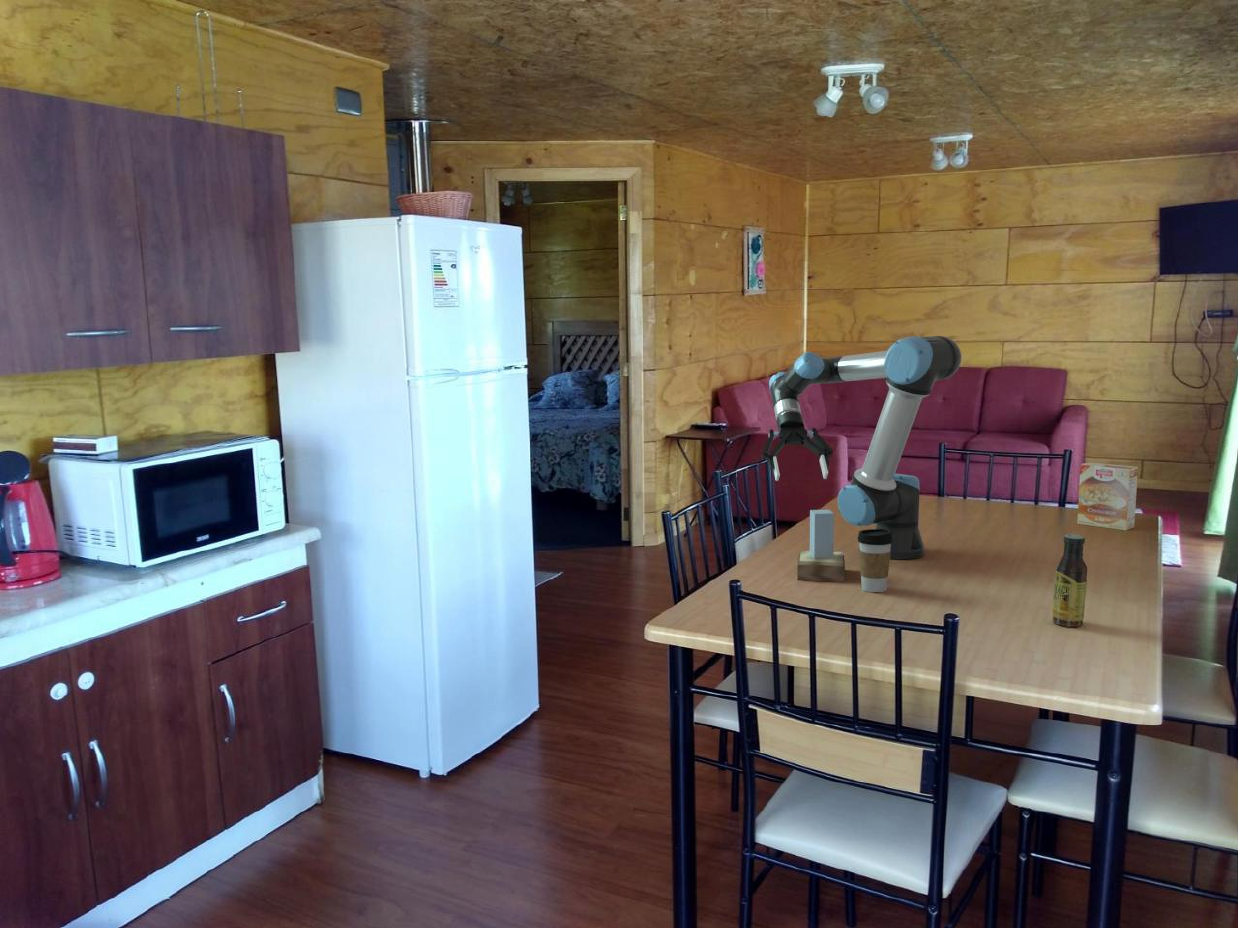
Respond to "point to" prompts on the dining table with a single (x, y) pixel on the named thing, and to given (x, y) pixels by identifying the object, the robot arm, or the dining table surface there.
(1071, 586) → the sauce bottle
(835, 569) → the pedestal
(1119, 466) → the coffeecake box
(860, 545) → the coffee cup
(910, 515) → the robot arm
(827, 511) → the block
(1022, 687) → the dining table surface
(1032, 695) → the dining table surface
